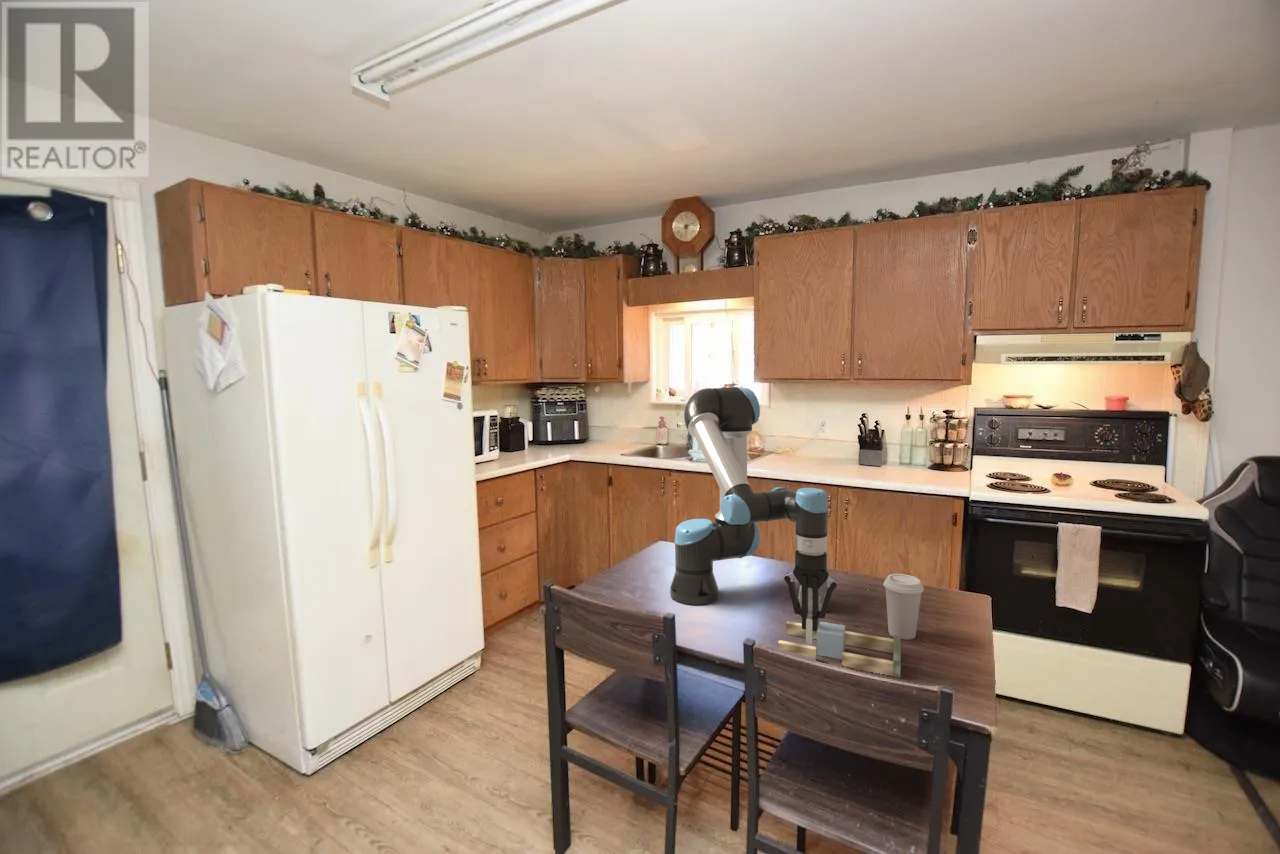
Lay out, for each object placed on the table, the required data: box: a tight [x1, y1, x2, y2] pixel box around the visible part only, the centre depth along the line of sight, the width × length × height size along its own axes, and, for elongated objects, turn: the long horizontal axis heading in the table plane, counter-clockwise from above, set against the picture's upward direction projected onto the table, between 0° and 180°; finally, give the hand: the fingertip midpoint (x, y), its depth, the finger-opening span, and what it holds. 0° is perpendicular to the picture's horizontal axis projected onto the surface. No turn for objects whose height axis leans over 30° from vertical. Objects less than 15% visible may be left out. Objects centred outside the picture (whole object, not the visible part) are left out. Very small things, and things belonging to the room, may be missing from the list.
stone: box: [798, 581, 831, 612], centre depth 166 cm, size 12×10×10 cm
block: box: [816, 621, 846, 661], centre depth 139 cm, size 6×6×6 cm
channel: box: [777, 620, 902, 678], centre depth 138 cm, size 28×13×4 cm, turn 65°
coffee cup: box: [883, 573, 925, 641], centre depth 147 cm, size 10×10×15 cm
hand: (809, 641), depth 141 cm, fingers closed
